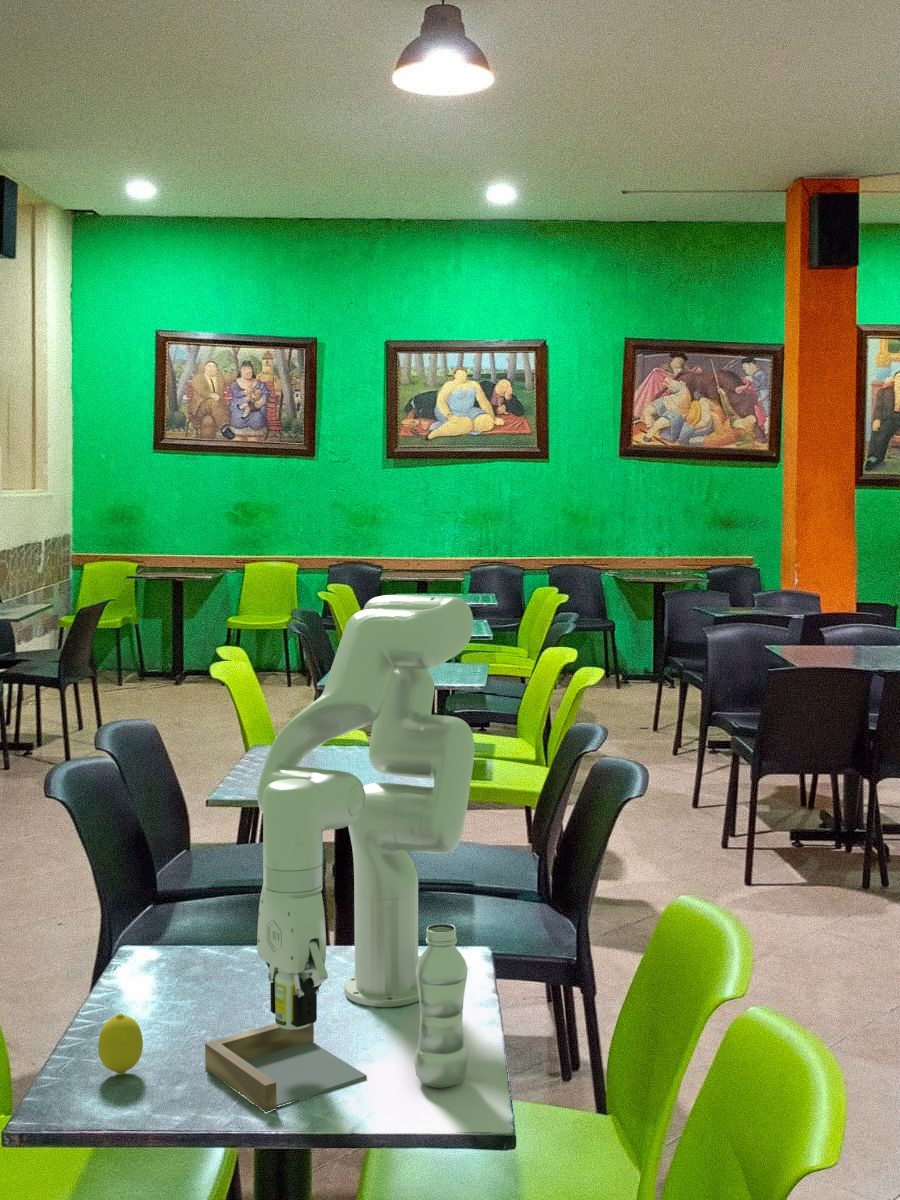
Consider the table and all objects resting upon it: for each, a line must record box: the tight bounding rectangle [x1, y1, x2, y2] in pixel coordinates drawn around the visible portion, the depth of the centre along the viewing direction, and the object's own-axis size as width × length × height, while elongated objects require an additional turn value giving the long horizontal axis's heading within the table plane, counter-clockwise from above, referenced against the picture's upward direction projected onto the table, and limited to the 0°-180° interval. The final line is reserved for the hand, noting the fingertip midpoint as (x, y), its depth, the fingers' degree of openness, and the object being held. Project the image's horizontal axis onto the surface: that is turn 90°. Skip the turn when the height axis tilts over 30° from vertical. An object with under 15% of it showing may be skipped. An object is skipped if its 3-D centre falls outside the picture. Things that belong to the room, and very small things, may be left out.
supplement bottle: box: [275, 964, 310, 1030], centre depth 166 cm, size 5×5×8 cm
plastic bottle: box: [414, 923, 468, 1089], centre depth 163 cm, size 6×7×20 cm
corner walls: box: [204, 1022, 315, 1112], centre depth 166 cm, size 16×16×4 cm
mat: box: [245, 1041, 368, 1106], centre depth 166 cm, size 14×14×1 cm
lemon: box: [97, 1013, 144, 1076], centre depth 166 cm, size 6×6×8 cm
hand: (293, 1015), depth 166 cm, fingers closed on supplement bottle, 4 cm apart
